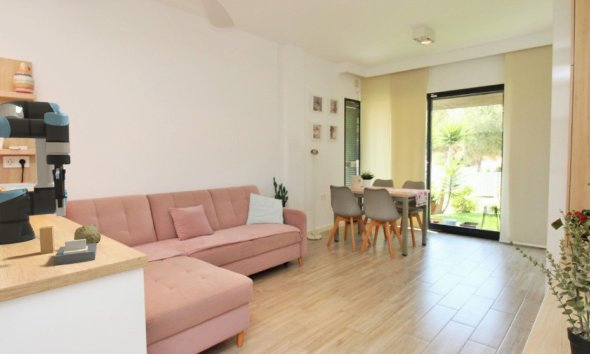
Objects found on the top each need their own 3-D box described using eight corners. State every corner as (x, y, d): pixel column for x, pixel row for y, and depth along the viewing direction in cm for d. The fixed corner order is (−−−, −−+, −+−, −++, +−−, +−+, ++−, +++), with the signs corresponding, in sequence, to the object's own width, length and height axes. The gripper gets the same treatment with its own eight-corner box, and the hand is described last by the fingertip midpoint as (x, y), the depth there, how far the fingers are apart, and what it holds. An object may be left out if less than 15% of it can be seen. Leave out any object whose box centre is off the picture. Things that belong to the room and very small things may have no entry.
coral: (109, 227, 147) (89, 222, 139) (100, 250, 144) (79, 246, 136) (94, 224, 151) (74, 219, 142) (85, 246, 148) (64, 242, 139)
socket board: (60, 254, 130) (60, 246, 130) (96, 250, 136) (96, 242, 136) (54, 264, 117) (54, 256, 117) (94, 259, 123) (94, 251, 123)
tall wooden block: (42, 251, 135) (41, 226, 135) (54, 250, 137) (53, 225, 136) (40, 254, 132) (39, 228, 131) (53, 252, 133) (51, 227, 133)
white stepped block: (65, 250, 125) (65, 239, 125) (87, 247, 128) (87, 237, 128) (63, 254, 119) (62, 243, 119) (86, 252, 122) (86, 241, 122)
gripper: (48, 153, 131) (51, 213, 133) (43, 154, 120) (46, 219, 122) (71, 154, 135) (74, 212, 137) (68, 154, 124) (71, 217, 125)
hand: (61, 215), depth 129 cm, fingers closed
